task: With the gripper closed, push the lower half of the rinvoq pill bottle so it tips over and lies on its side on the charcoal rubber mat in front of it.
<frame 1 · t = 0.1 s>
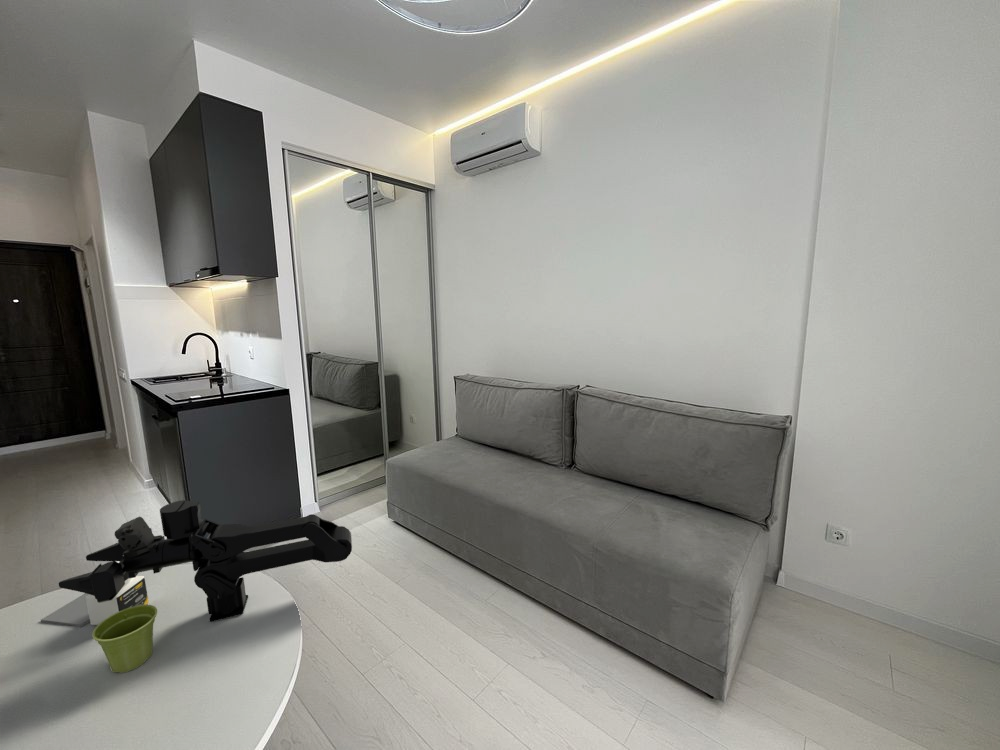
hand: (73, 570, 83), 17 cm above the table, tool horizontal, fingers open, 9 cm apart
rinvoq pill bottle: (121, 614, 94), on the table
plant pot: (133, 661, 81), on the table
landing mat: (84, 609, 95), on the table
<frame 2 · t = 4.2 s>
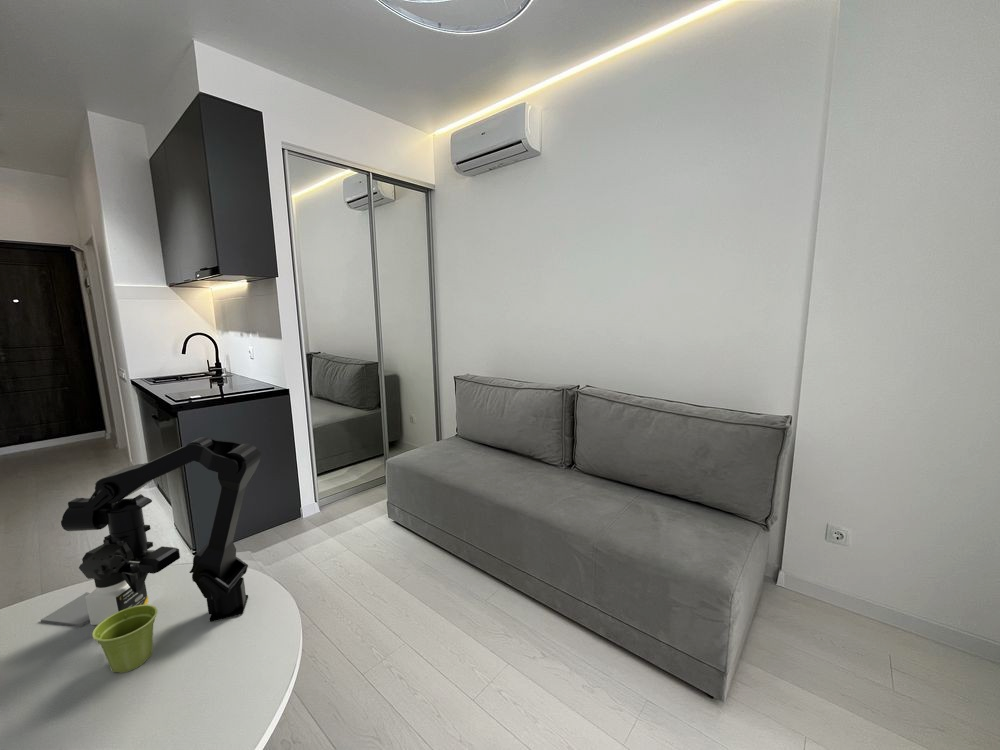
hand: (137, 591, 92), 6 cm above the table, tool pointing down, fingers closed
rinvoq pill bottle: (121, 614, 94), on the table, touching gripper
everything else where it was.
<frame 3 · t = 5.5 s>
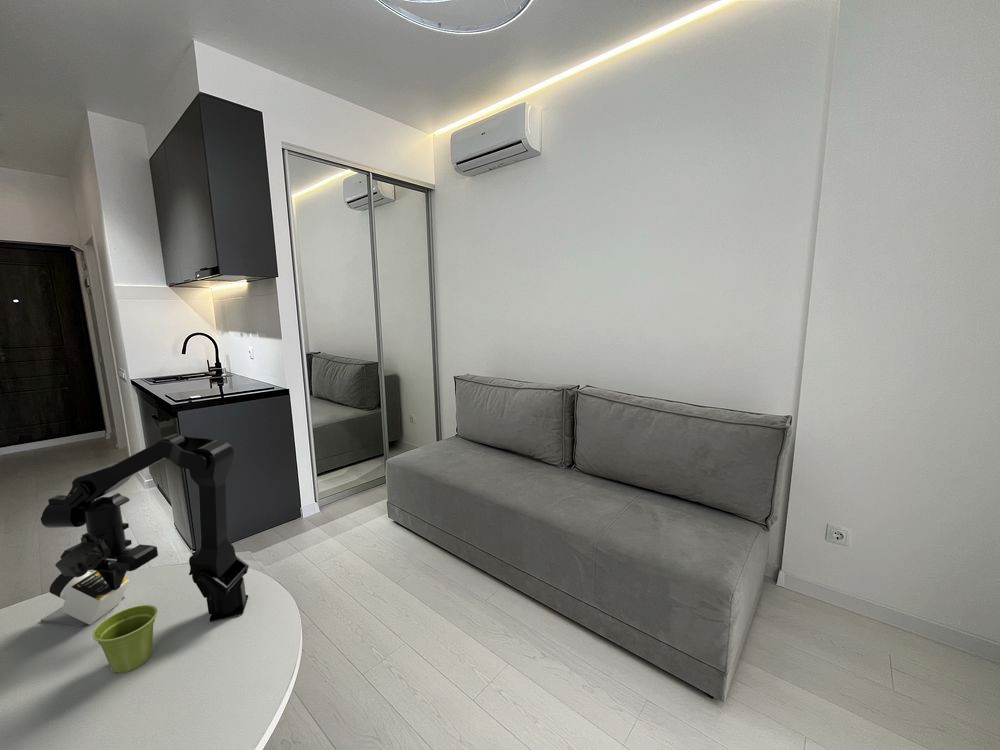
hand: (116, 589, 93), 6 cm above the table, tool pointing down, fingers closed
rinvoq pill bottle: (111, 602, 93), point 3 cm above the table, touching gripper
everything else where it was.
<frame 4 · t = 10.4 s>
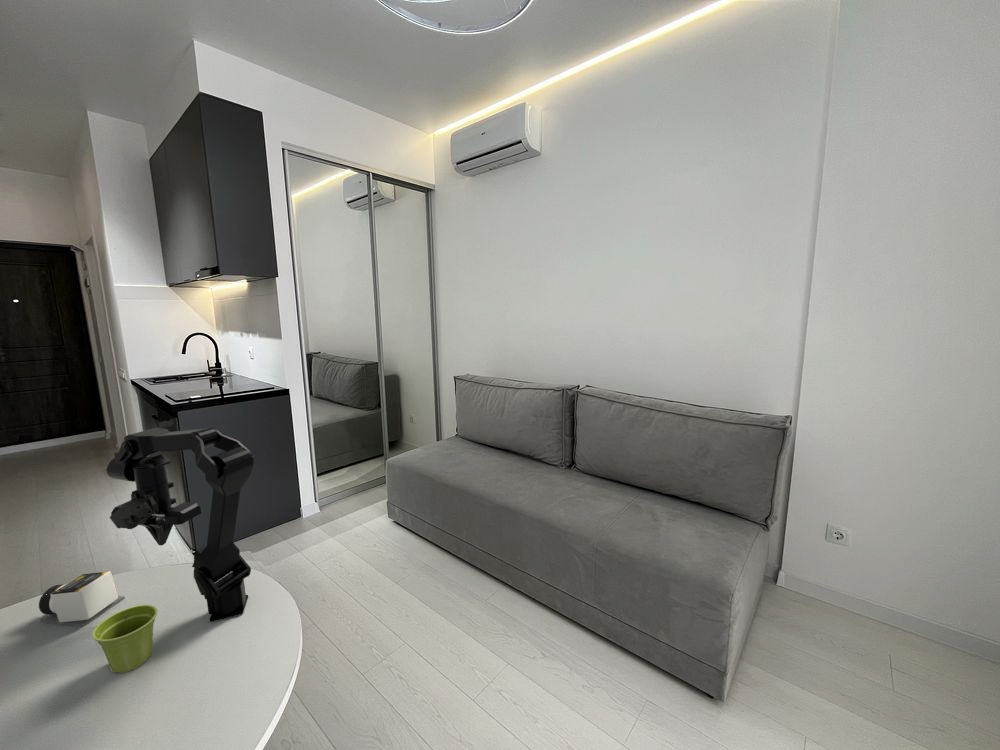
hand: (162, 544, 98), 13 cm above the table, tool pointing down, fingers closed
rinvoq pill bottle: (101, 594, 93), point 5 cm above the table, touching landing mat
everything else where it was.
at the end: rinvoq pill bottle tilted 97°; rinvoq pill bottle 6.3 cm from the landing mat (horizontally); plant pot moved 0.2 cm from its start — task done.
